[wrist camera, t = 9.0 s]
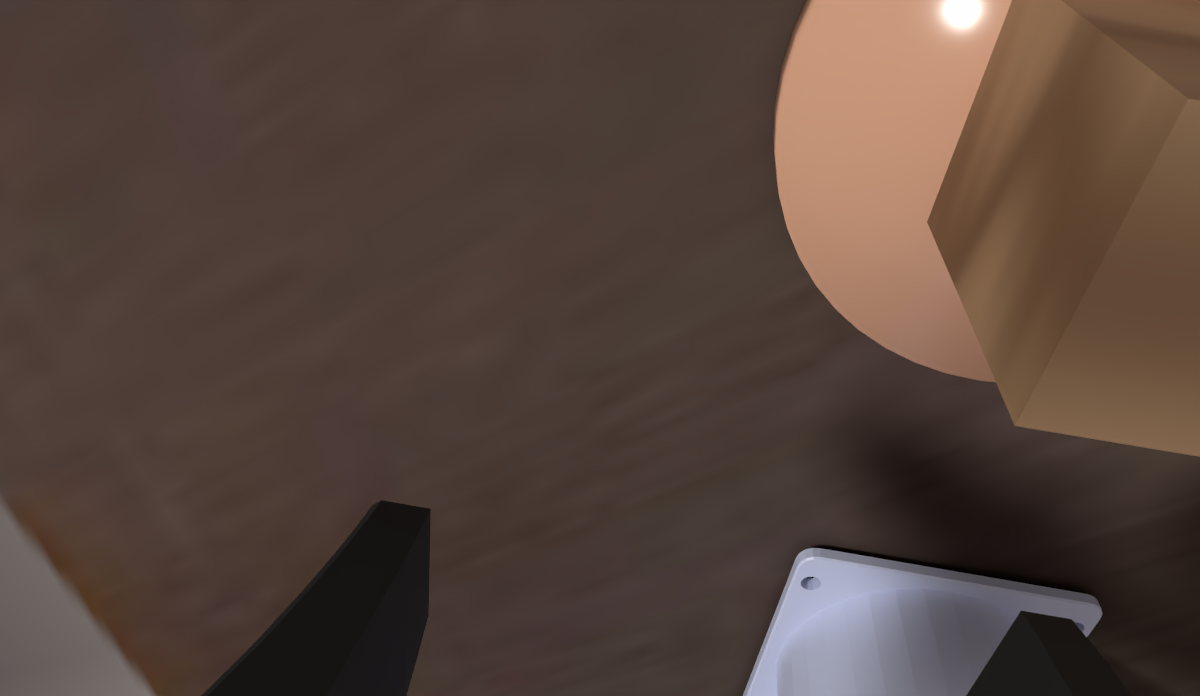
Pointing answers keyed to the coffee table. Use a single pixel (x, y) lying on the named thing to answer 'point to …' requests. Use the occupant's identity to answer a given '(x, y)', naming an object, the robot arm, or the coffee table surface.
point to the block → (1085, 219)
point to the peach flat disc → (882, 162)
